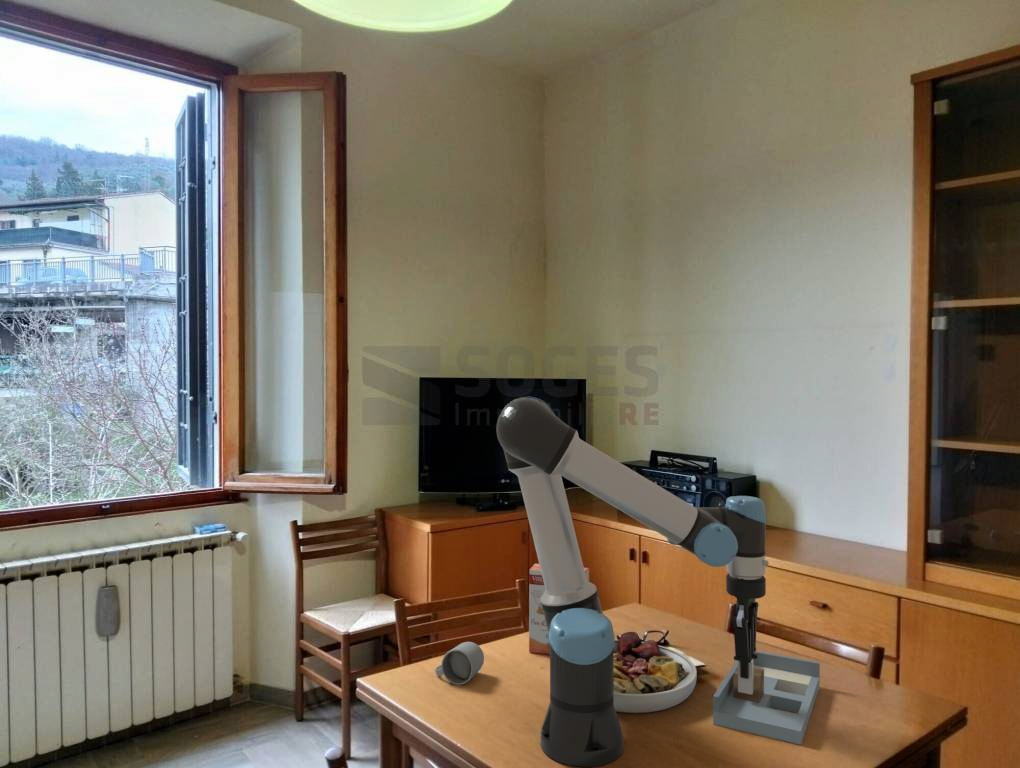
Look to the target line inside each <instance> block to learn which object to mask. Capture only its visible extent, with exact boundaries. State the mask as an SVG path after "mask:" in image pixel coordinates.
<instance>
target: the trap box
mask: <svg viewBox="0 0 1020 768" xmlns="http://www.w3.org/2000/svg"><path fill="white" fill-rule="evenodd" d="M754 654H755V655H758V658H757V659H754V658H752V659H753V660H754V667H755V668H761V669H764V694H763V696H762V698H761V700H760V702H759V703H757V702H752V701H748V700H743V699H739V698H734V697H733V691H734V671H735V670H736V668H737V667H738V660H735V662H734V663H733V665H732V666H731V668H730V669H729V671H728V673H727V674H726V675H725V677H724V678H723V680H722V682H721V683H720V685H719V686H718V688H717V689H716V691H715V692H714V694H713V697H712V700H713V701H712V704H713V705H712V709H713V710H712V712H713V713H712V718H713V719H712V721H713V722H712V725H715V726H720V727H724V728H727V729H731V730H732V729H733V730H737V731H741V732H745V733H749V734H752V735H753V734H754V735H757V736H761V737H766V738H771V739H774V740H779V741H782V742H786V743H791V744H795V745H799V746H802V744H803V740H804V737H805V733H806V731H807V727H808V725H809V721H810V719H811V716H812V711H813V709H814V706H815V702H816V700H817V698H818V697H817V696H818V693H819V690H820V677H821V676H820V674H821V673H820V672H821V671H820V670H821V669H820V665H821V664H820V663H821V662H820V661H815V660H809V659H803V658H798V657H794V656H786V655H783V654H776V653H771V652H765V651H759V650H756V651H755V652H754Z"/></svg>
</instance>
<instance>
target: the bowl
mask: <svg viewBox="0 0 1020 768" xmlns="http://www.w3.org/2000/svg"><path fill="white" fill-rule="evenodd" d="M613 656H614V707H615V711H616V713H617V712H618V713H629V714H630V713H631V714H632V713H633V714H641V713H642V714H643V713H655V712H659V711H663V710H666V709H670V708H672V707H676V706H677V705H679V704H681V703H682V702H684V701H685V700H686V699H687V698H689V697H690V695H692V693H693V691H694V689H695V687H696V685H697V680H698V679H697V678H698V677H697V676H698V673H697V672H698V671H697V667H696V666H695V664H694V663H693V662H692V661H691V659H690V658H688V657H687V656H685V655H684V654H682V653H680V652H678V651H677V650H674V649H672V648H669V647H666V646H662V645H661V644H660V645H659V644H658V643H657V641H656V640H653V639H648V640H646V641H642V639H641V637H639V635H638V634H636V633H635V632H632V631H631V632H630V631H629V632H625V633H623V634H622V635H620V636H619V639H615V643H614V648H613Z"/></svg>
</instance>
